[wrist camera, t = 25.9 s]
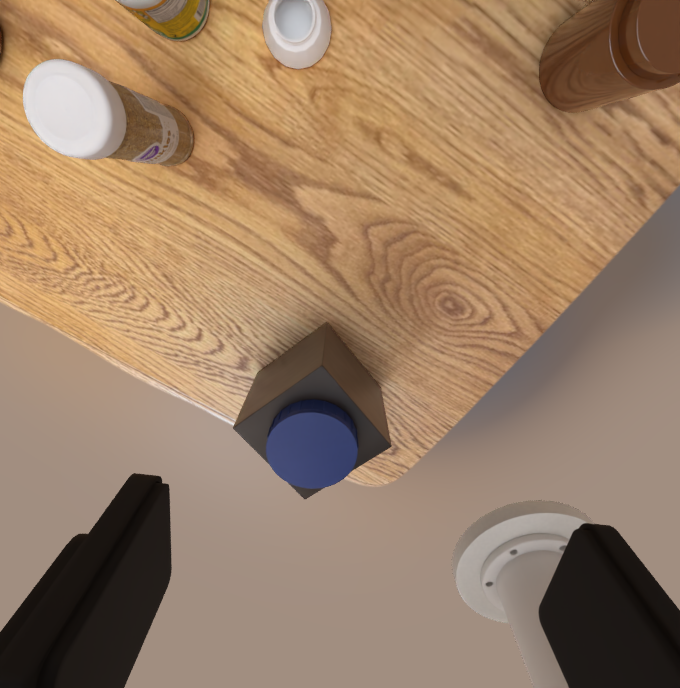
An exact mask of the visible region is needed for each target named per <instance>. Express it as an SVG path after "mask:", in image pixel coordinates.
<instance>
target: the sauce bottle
mask: <svg viewBox="0 0 680 688" xmlns="http://www.w3.org/2000/svg"><path fill="white" fill-rule="evenodd" d="M1 45H2V37H1V29H0V55H1V52H2V50H1V48H2V47H1Z"/></svg>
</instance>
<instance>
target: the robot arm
mask: <svg viewBox="0 0 680 688" xmlns="http://www.w3.org/2000/svg"><path fill="white" fill-rule="evenodd" d="M169 498H170V497H169V485H168V484H163V483H162V479H161V477H160V476H153V475H144V474H135V473H134V474H132V475H131V476H130V477H129V478H128V480H127V481H126V482H125V484H124V485H123V487H122V488H121V489H120V491H119V492H118V494H117V495H116V496H115V498H114V499H113V500H112V502H111V503H110V505H109V506H108V507H107V509H106V510H105V512H104V513H103V514H102V516H101V517H100V518H99V520H98V522H97V523H96V524H95V526H94V527H93V528H92V530H91V531H90V532H89V534H78V535H77V536H75V537H73V538H72V539H71V541H70V542H69V543H68V544H67V545H66V546H65V548H64V549H63V550H62V552H61V553H60V554H59V556H58V557H57V558H56V560H55V561H54V562H53V563H52V565H51V566H50V568H49V569H48V570H47V571H46V573H45V574H44V575H43V577H42V578H41V579H40V581H39V582H38V583H37V585H36V586H35V587H34V589H33V590H32V591H31V593H30V594H29V595H28V596H27V598H26V599H25V600H24V602H23V603H22V604H21V606H20V607H19V608H18V610H17V611H16V612H15V614H14V615H13V616H12V618H11V619H10V620H9V621H8V623H7V624H6V625H5V627H4V628H3V629H2V631H1V632H0V688H124V687H125V684H126V682H127V680H128V677H129V675H130V673H131V670H132V668H133V666H134V664H135V661H136V659H137V657H138V654H139V652H140V650H141V647H142V645H143V643H144V640H145V638H146V635H147V633H148V631H149V629H150V626H151V624H152V622H153V619H154V617H155V615H156V612H157V610H158V608H159V605H160V603H161V601H162V599H163V596H164V594H165V592H166V589H167V587H168V584H169V581H170V576H171V537H170V536H171V534H170V533H171V532H170V499H169ZM480 580H481V585H482V589H483V592H484V594H485V596H486V598H487V599H488V600H489V602H490V603H491V604H492V605H494V606H495V607H497V608H498V609H500V610H502V611H504V612H505V613H506V616H507V618H508V621H509V624H510V626H511V629H512V632H513V634H514V637H515V640H516V642H517V645H518V648H519V650H520V653H521V656H522V658H523V661H524V664H525V666H526V669H527V672H528V674H529V677H530V679H531V682H532V685H533V687H534V688H680V610H679V609H678V608H677V606H676V605H675V604H674V603H673V601H672V600H671V599H670V598H669V596H668V595H667V594H666V593H665V591H664V590H663V589H662V587H661V586H660V585H659V583H658V582H657V581H656V580H655V578H654V577H653V576H652V575H651V573H650V572H649V571H648V570H647V568H646V567H645V566H644V564H643V563H642V562H641V561H640V559H639V558H638V557H637V556H636V554H635V553H634V552H633V550H632V549H631V548H630V546H629V545H628V544H627V543H626V541H625V540H624V539H623V538H622V536H621V535H620V534H619V533H618V531H617V530H616V529H614V528H613V527H611V526H608V525H599V524H590V523H584V524H582V525H581V526H580V527H579V529H576V530H574V531H573V533H572V535H571V537H570V540H569V539H568V538H566V537H562V536H559V535H554V534H546V533H543V534H530V535H524V536H521V537H518V538H515V539H512V540H510V541H508V542H506V543H504V544H503V545H501V546H500V547H498V548H497V549H496V550H495V551H494V552H492V553H491V554H490V556H489V557H488V558H487V560H486V561H485V563H484V565H483V567H482V569H481V574H480Z"/></svg>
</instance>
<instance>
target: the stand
mask: <svg viewBox="0 0 680 688" xmlns="http://www.w3.org/2000/svg"><path fill="white" fill-rule="evenodd" d="M312 399H314V400H321V401H326V402H329V403H331V404H334V405H337V407H339V408H341V409H342V410H343V411H344V412H346V414H347V415H348V416H349V417H350V418H351V420H353V423H354V426H355V428H356V429H357V439H358V448H359V449H358V454H357V460H356V463H355V465H354V467H353V469H352V470H354V469H356V468H357V467H359V466H361V465H362V464H364V463H365V462H367V461H369V460H370V459H372V458H374V457H375V456H377V455H378V454H380V453H382V452H383V451H385V450H387V449H388V448H390V447H391V440H390V435H389V430H388V424H387V419H386V413H385V408H384V402H383V397H382V391H381V387H380V386H379V385H378V384H377V382H376V381H375V380H374V379H373V378H372V376H371V375H370V374H369V373H368V371H367V370H366V369H365V368H364V367H363V365H362V364H361V363H360V362H359V360H358V359H357V358H356V357H355V355H354V354H353V353H352V352H351V351H350V349H349V348H348V347H347V346H346V344H345V343H344V342H343V341H342V340H341V338H340V337H339V336H338V335H337V333H336V332H335V331H334V330H333V329H332V327H331V326H330V325H329V324H328V323H327V322H326V323H325V324H323V325H322V326H321V327H319V328H318V329H317V330H315V331H314V332H312V333H311V334H310V335H308V336H307V337H306V338H304V339H303V340H302V341H300V342H299V343H297V344H296V345H295V346H293V347H292V348H291V349H289V350H288V351H286V352H285V353H284V354H282V355H281V356H280V357H278V358H277V359H275V360H274V361H273V362H271V363H270V364H269V365H267V366H266V367H265V368H263V369H262V370H260V371H259V372H258V373H257V375H256V377H255V379H254V382H253V384H252V386H251V388H250V391H249V393H248V395H247V397H246V400H245V402H244V404H243V406H242V409H241V411H240V413H239V415H238V418H237V420H236V422H235V424H234V427H233V429H234V430H235V431H236V432H237V433H238V434H239V435H240V436H241V437H242V438H243V439H244V440H245V441H246V442H247V443H248V444H249V445H250V446H251V447H252V448H254V450H256V451H257V453H258V454H260V456H261V457H262V458H263V459H264V460H265V461H266V462H267V463H268V464H269V462H268V459H267V455H266V443H267V439H268V438H267V435H268V432H269V429H270V427H271V426H272V422H273V419H274V418H276V416H277V415H278V414H279V413H280V411H281V410H283V409H284V408H286V407H287V406H289V404H293V403H296V402H299V401H300V400H302V401H304V400H312ZM269 465H270V464H269ZM352 470H351V471H352ZM289 484H290V483H289ZM290 485H291V486H292V487H293V488H294V489H295V490H296V491H297V492H298V493H299V494H300V495H301V496H302V497H303V498H304V499H307V498H308V497H310V496H312V495H313V494H315V493H316V492H318V491H320V490H321V489H323V488H316V489H310V488H302V487H298V486H295V485H292V484H290ZM324 488H325V487H324Z"/></svg>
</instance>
